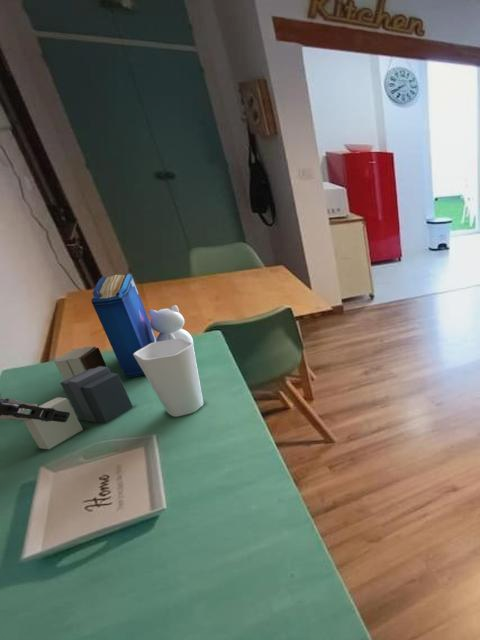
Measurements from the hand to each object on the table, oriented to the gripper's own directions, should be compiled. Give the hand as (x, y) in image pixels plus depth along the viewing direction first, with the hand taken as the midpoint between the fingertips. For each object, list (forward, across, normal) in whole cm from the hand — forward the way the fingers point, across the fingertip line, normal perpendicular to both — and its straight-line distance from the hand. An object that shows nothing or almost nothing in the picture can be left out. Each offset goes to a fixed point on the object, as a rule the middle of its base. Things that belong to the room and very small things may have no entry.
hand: (50, 415), depth 92 cm
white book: (+4, 0, +5) cm, 6 cm away
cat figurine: (+33, +9, -24) cm, 42 cm away
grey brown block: (+19, +19, -10) cm, 29 cm away
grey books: (+11, 0, -2) cm, 12 cm away
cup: (+15, -17, -6) cm, 24 cm away
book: (+28, +15, -19) cm, 37 cm away
